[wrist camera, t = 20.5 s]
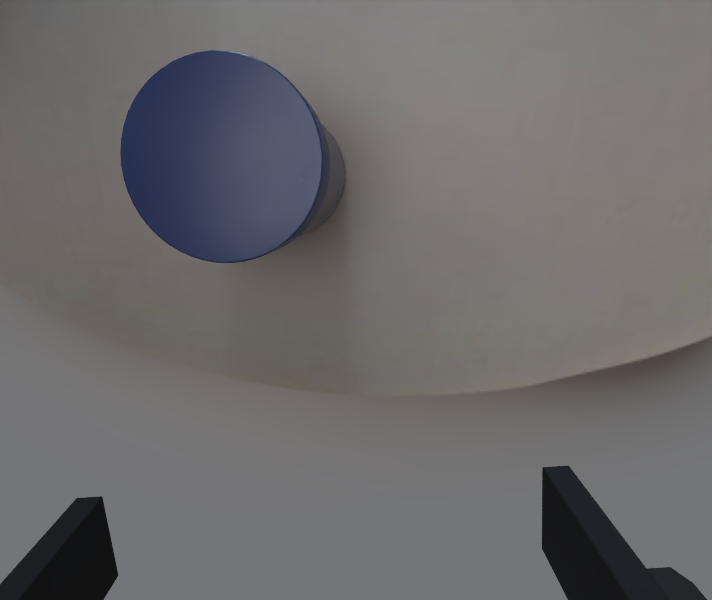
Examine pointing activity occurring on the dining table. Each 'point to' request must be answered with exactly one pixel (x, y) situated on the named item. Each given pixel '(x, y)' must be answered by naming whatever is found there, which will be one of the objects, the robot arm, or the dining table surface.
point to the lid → (224, 157)
